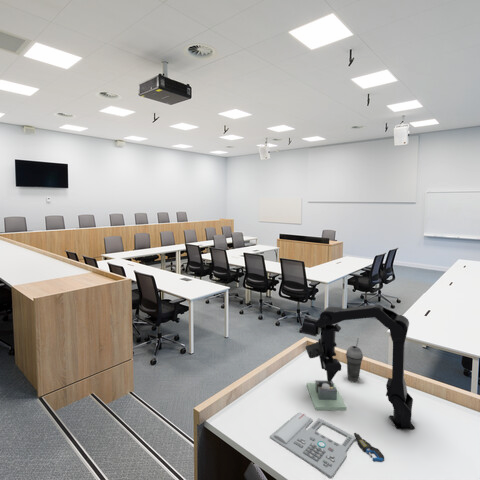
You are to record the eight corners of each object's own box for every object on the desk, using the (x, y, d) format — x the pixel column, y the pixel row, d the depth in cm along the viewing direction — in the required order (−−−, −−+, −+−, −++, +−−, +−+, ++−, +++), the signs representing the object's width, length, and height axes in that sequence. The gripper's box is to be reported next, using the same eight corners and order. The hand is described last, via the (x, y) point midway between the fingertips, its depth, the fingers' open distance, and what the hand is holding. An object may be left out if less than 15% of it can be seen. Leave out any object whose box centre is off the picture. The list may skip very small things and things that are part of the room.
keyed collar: (336, 399, 128) (337, 390, 128) (319, 399, 128) (319, 390, 128) (331, 389, 135) (332, 380, 135) (315, 389, 135) (315, 380, 135)
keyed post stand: (346, 410, 124) (346, 397, 123) (315, 409, 124) (315, 397, 123) (334, 385, 140) (334, 374, 139) (306, 385, 140) (307, 374, 139)
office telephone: (269, 432, 109) (300, 405, 124) (269, 439, 110) (300, 411, 124) (331, 472, 94) (359, 435, 108) (331, 480, 94) (359, 442, 108)
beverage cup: (348, 372, 150) (350, 332, 147) (363, 378, 145) (366, 337, 142) (342, 379, 144) (344, 338, 141) (358, 385, 140) (360, 342, 137)
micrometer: (386, 457, 100) (371, 459, 99) (385, 462, 100) (371, 465, 99) (364, 429, 112) (351, 431, 111) (364, 434, 112) (351, 436, 111)
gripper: (303, 329, 138) (301, 362, 140) (313, 350, 119) (311, 388, 121) (329, 329, 138) (327, 363, 140) (342, 350, 119) (340, 388, 121)
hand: (326, 374), depth 131 cm, fingers open, 9 cm apart
